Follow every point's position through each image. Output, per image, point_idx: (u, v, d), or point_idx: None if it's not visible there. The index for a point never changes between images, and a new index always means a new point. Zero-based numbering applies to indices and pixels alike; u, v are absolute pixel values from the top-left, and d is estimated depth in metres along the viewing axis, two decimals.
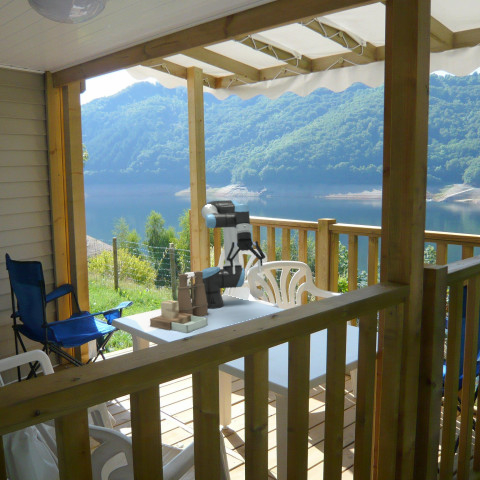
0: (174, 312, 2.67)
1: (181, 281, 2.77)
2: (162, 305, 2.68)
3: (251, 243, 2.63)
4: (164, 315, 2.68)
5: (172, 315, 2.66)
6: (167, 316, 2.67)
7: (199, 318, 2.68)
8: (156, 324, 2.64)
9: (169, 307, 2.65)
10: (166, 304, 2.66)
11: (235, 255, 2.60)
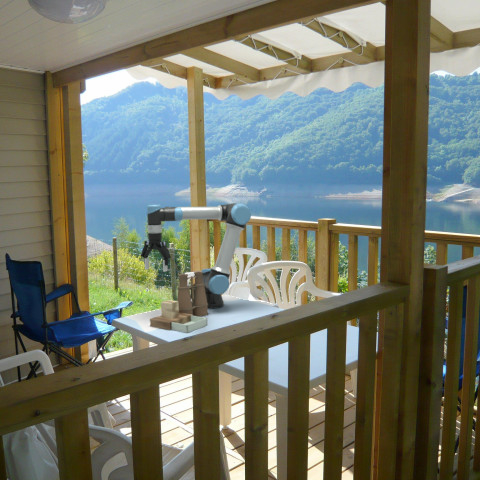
0: (174, 312, 2.67)
1: (181, 281, 2.77)
2: (162, 305, 2.68)
3: (158, 243, 2.78)
4: (164, 315, 2.68)
5: (172, 315, 2.66)
6: (167, 316, 2.67)
7: (199, 318, 2.68)
8: (156, 324, 2.64)
9: (169, 307, 2.65)
10: (166, 304, 2.66)
11: (146, 253, 2.83)
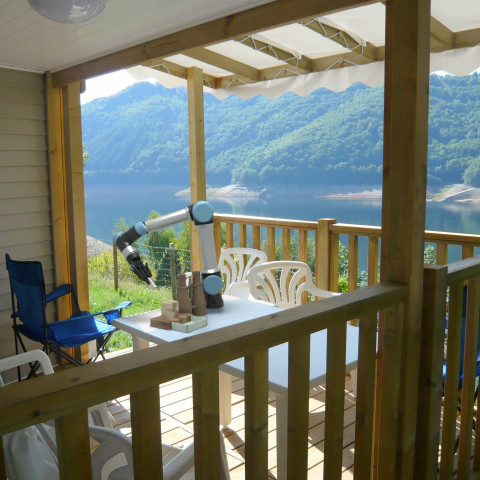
0: (174, 312, 2.67)
1: (180, 281, 2.77)
2: (162, 305, 2.68)
3: None
4: (164, 315, 2.68)
5: (172, 315, 2.66)
6: (167, 316, 2.67)
7: (199, 318, 2.68)
8: (156, 324, 2.64)
9: (169, 307, 2.65)
10: (166, 304, 2.66)
11: None
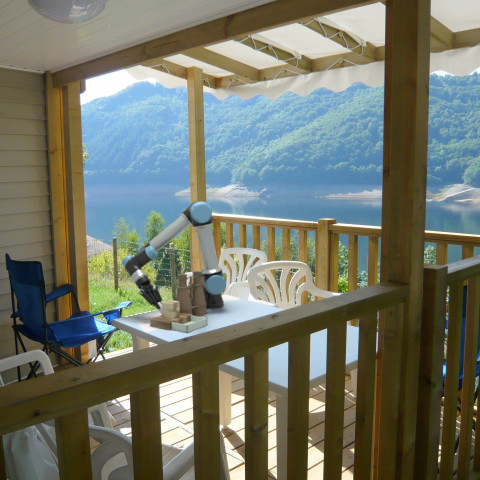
0: (175, 312, 2.67)
1: (181, 281, 2.77)
2: (163, 305, 2.68)
3: None
4: (165, 315, 2.68)
5: (173, 315, 2.66)
6: (168, 316, 2.66)
7: (199, 318, 2.68)
8: (156, 324, 2.64)
9: (170, 307, 2.65)
10: (167, 304, 2.66)
11: None
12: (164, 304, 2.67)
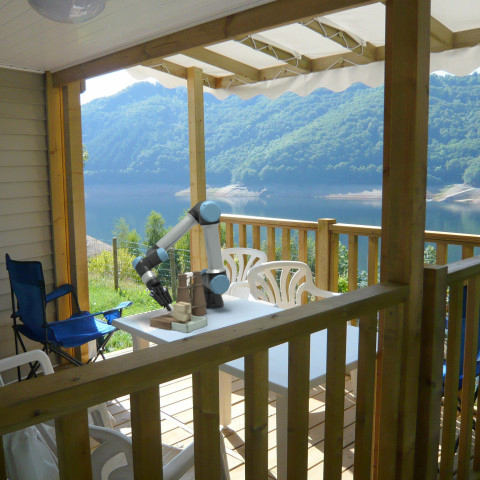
0: (187, 314, 2.62)
1: (181, 281, 2.77)
2: (174, 307, 2.63)
3: None
4: (176, 317, 2.63)
5: (184, 318, 2.61)
6: (179, 318, 2.62)
7: (199, 318, 2.68)
8: (156, 324, 2.64)
9: (181, 310, 2.60)
10: (178, 306, 2.61)
11: None
12: (175, 306, 2.62)
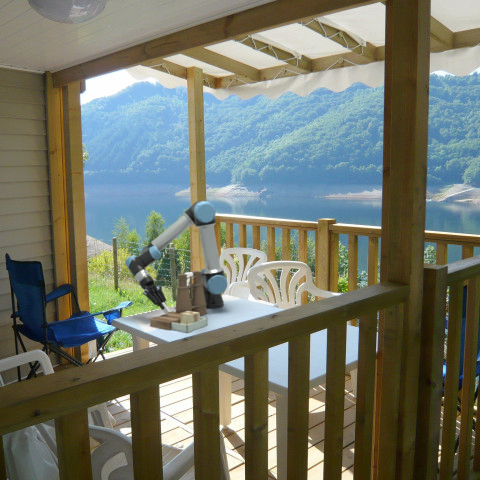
0: None
1: (181, 281, 2.77)
2: (189, 316, 2.58)
3: None
4: (181, 317, 2.61)
5: None
6: (181, 321, 2.61)
7: None
8: (156, 324, 2.64)
9: None
10: (191, 322, 2.57)
11: None
12: (190, 318, 2.57)
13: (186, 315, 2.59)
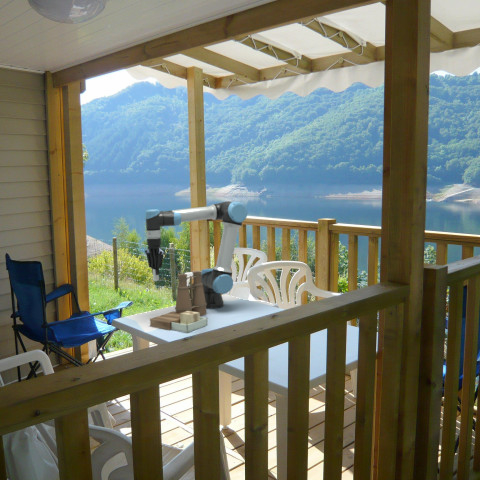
0: None
1: (181, 281, 2.77)
2: (189, 316, 2.58)
3: (157, 249, 2.73)
4: (181, 317, 2.61)
5: None
6: (181, 321, 2.61)
7: None
8: (156, 324, 2.64)
9: None
10: (191, 322, 2.57)
11: (152, 262, 2.76)
12: (190, 318, 2.57)
13: (186, 315, 2.59)
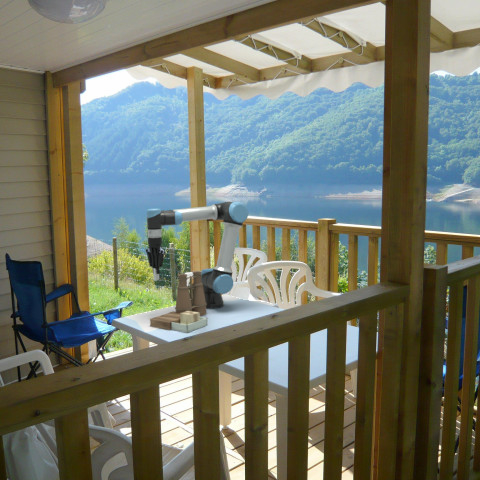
0: None
1: (181, 281, 2.77)
2: (189, 316, 2.58)
3: (158, 248, 2.73)
4: (181, 317, 2.61)
5: None
6: (181, 321, 2.61)
7: None
8: (156, 324, 2.64)
9: None
10: (191, 322, 2.57)
11: (152, 261, 2.76)
12: (190, 318, 2.57)
13: (186, 315, 2.59)
